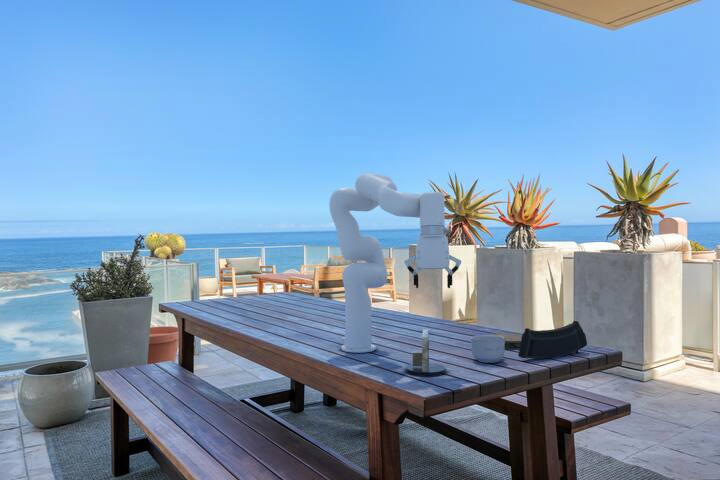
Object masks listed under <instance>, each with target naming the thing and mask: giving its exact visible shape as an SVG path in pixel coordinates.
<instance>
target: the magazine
mask: <svg viewBox="0 0 720 480" xmlns="http://www.w3.org/2000/svg"><path fill="white" fill-rule="evenodd" d="M521 335H522V339H521V344H520V349H518V354H517V356H518V357H519V358H522V359H539V360H540V359H541V360H542V359H543V360H544V359H555V358H560V357H564V356H568V355H570V354H572V353H577V354H579V351H580V350H582V349H583V348H585V347H587V345H588V341H587V336H586V333H585V331H584V329H583V327H582V326H581V323H580V321H577V320H573V321H572V322H571V323H568V324H566V325H564V326H561V327H558V328H557V327H556V328H553V329H543V330H542V329H541V330H533V329H530V328H528V327H526V328H524V332H523V333H522V334H521Z"/></svg>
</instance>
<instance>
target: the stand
mask: <svg viewBox="0 0 720 480" xmlns="http://www.w3.org/2000/svg"><path fill="white" fill-rule="evenodd" d="M446 370H447V368H446V366H445V365H442V364H438V363H433V362H429V367H428V372H422V366H413V363H409V364H407V365H405V373H407V374H409V375H412V376H416V377H439V376H443V375H445V374H446V372H447V371H446Z"/></svg>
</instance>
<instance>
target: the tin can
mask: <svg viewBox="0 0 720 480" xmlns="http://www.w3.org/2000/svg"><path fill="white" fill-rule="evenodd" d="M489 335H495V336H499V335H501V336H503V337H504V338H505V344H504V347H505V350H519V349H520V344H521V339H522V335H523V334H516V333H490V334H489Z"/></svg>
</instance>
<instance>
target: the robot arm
mask: <svg viewBox="0 0 720 480" xmlns="http://www.w3.org/2000/svg"><path fill="white" fill-rule="evenodd" d="M355 179H356V180H355V182H354V187H355V188H354V187H340V188H337V189H335V190H334V191H333V192H332V193H331V195H330V198H329V204H328V205H329V206H328V207H329V213H330V216H331V219H332V221H333V224H334V226H335V229H336V235H337V238H338V244H339V248H340V253H341V256H342V258H343V259H344V260H345V261H350V262H353V263H350V264H347V265H346V266H345V267H344V268H343V271H342V275H341V277H342V284H343V289H344V290H343V291H344V307H345V308H344V309H345V314H344V315H345V316H344V317H345V319H344V320H345V324H344V325H345V326H344V327H345V330H344V331H345V334H344V336H343V337H341V341H342V342H344V344H343V345H341V346H340V349H341V351H342V352H345V353H353V354H355V353H357V354H362V353H363V354H364V353H371V352H374V351H375V350H377V349H376V348H377V346H376V345H374V344H372V299H371V296H370V294H369V293H368V291H367V290H368V289H379V288H382V287H384V286H385V285H386V283H387V282H388V269H387V265H386V261H385V255H384V251H383V248H382V245H381V242H380V241H379V239H377V238H376V237H375V236H372V235H363V234H362V233H361V231H360V225H359V223H358V221H357V219H356V218H355V216H354V215H353V214H352V213H351V212H370V211H371V212H372V211H373V210H374V209H376V208H377V207H380V209H381V210H383V211H384V212H387V213H388V214H390V215H394V216H397V217H404V218H405V217H406V218H419V236H417V239H416V248H415V249H416V250H415V251H416V252H415V255H413V256H411V257H409V258H407V259H405V260H404V264H405V266H406V268H407V270H408V271H409V272H410V273H411V274H412V275H413V286H415V288H416V289H419V274H418V273H419V272H420V271H421V270H445V271H446V272H447V275H446V277H447V278H446V280H447V281H446V282H447V283H446V284H447V285H446V286H447V289H451V286H453V275H454V274H455V273H457V271H458V270H459V268H460V267H461V264H462V260H461V259H459V258H457V257H455V256H453V255H451V254H450V247H449V239H448V237H447V236H446V234H449V233H450V227H446V226H445V223H446V221H445V218H446V215H445V195H444V193H443V192H441V191H424V192H422V193H413V192H401V191H398V187H397V185H396V184H395V182H394V181H393V179H392V178H391V177H390V176H389V175H386V174H379V173H373V172H372V173H371V172H365V173H361V174H360V175H358V177H357V178H355ZM357 261H358V262H357ZM363 261H364V262H363ZM414 261H415V266H416V267H415V268H414V267H412V266H411V263H412V262H414ZM450 261H452V262H454V263H455V264H454V266H453V267H452V268H451V267H450ZM354 262H355V263H354Z"/></svg>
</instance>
